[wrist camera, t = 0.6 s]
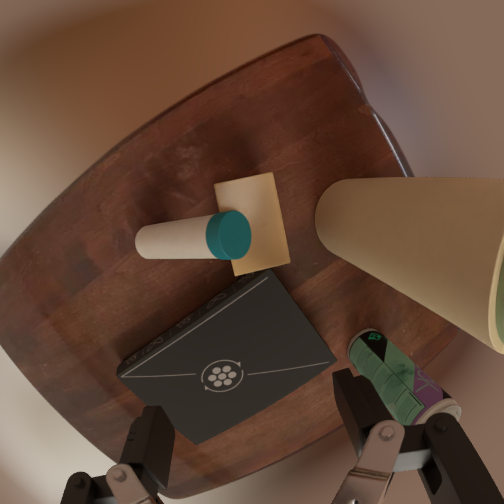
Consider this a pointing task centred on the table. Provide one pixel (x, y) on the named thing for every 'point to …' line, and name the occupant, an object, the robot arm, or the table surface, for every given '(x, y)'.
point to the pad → (500, 305)
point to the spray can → (398, 379)
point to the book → (228, 358)
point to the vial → (197, 238)
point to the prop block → (256, 220)
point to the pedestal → (424, 241)
